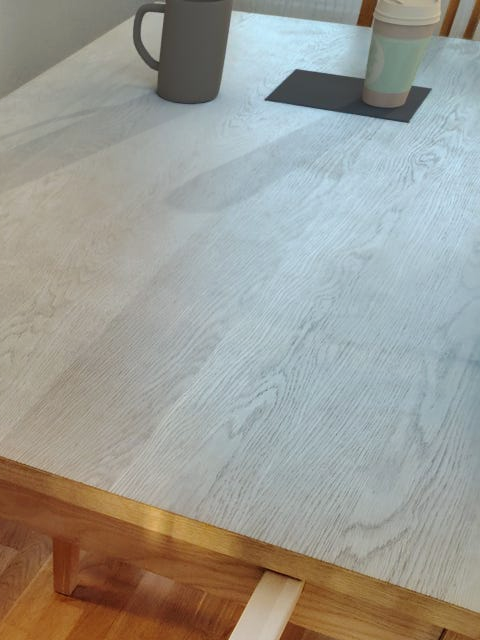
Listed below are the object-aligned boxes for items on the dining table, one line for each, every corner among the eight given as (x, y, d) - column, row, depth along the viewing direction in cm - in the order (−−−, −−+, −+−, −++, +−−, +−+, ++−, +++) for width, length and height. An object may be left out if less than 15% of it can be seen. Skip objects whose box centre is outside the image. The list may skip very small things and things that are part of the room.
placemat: (431, 89, 129) (432, 88, 129) (408, 122, 121) (408, 121, 121) (295, 69, 136) (296, 68, 136) (264, 99, 127) (264, 98, 127)
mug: (227, 87, 131) (242, -12, 122) (208, 107, 126) (223, 5, 117) (139, 76, 135) (147, -21, 126) (117, 95, 130) (125, -5, 121)
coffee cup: (359, 87, 130) (385, -13, 121) (420, 96, 127) (451, -6, 118) (344, 105, 125) (370, 3, 116) (407, 115, 122) (438, 10, 113)
